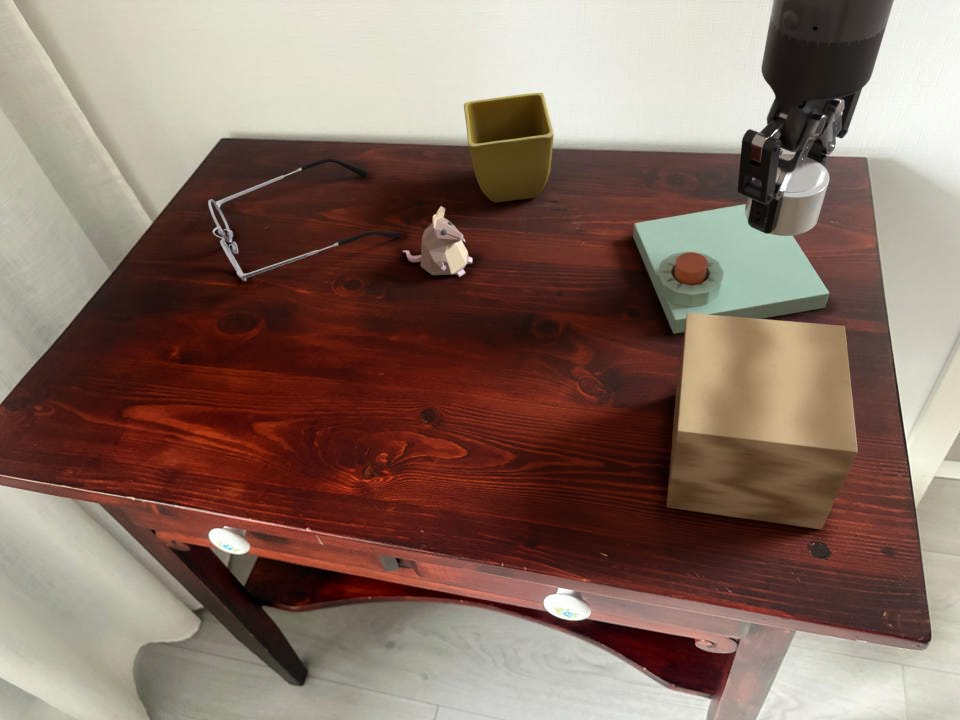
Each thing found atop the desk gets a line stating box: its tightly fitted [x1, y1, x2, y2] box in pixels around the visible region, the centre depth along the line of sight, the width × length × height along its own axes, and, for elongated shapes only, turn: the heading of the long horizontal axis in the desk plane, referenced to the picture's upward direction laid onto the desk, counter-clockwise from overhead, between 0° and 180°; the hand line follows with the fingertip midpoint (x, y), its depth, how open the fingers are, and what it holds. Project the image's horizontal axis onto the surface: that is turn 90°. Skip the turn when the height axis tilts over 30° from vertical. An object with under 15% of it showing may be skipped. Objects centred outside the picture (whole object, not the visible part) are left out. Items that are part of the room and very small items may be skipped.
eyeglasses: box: [207, 158, 404, 283], centre depth 83 cm, size 16×19×5 cm
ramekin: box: [745, 153, 830, 237], centre depth 63 cm, size 6×6×4 cm
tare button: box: [674, 252, 708, 285], centre depth 68 cm, size 3×3×2 cm
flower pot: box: [463, 92, 555, 203], centre depth 82 cm, size 9×9×9 cm
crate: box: [666, 313, 859, 530], centre depth 55 cm, size 11×11×10 cm
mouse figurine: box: [402, 205, 473, 278], centre depth 76 cm, size 5×8×7 cm, turn 64°
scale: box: [632, 203, 830, 335], centre depth 72 cm, size 14×14×4 cm
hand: (783, 207), depth 64 cm, fingers closed on ramekin, 6 cm apart
